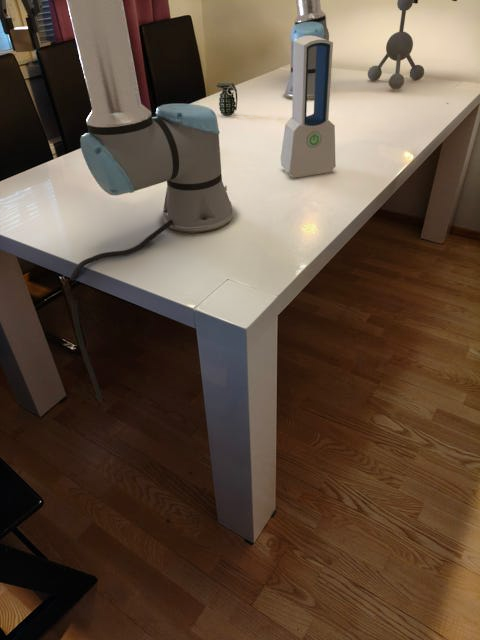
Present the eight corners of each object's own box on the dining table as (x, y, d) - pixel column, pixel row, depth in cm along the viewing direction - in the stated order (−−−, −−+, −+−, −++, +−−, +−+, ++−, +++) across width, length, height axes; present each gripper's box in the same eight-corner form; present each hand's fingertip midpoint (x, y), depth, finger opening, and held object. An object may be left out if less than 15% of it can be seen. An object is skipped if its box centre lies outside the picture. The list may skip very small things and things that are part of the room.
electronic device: (289, 178, 122) (291, 42, 103) (279, 168, 128) (280, 37, 109) (335, 171, 124) (345, 37, 106) (323, 161, 130) (331, 32, 111)
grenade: (217, 117, 168) (214, 86, 162) (221, 112, 172) (219, 82, 166) (235, 117, 166) (233, 86, 160) (239, 113, 171) (238, 82, 165)
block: (38, 48, 119) (33, 26, 116) (33, 51, 115) (27, 28, 113) (21, 49, 119) (15, 27, 116) (16, 52, 115) (9, 29, 113)
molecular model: (441, 85, 188) (459, -9, 169) (393, 93, 182) (406, -3, 164) (404, 74, 205) (416, -12, 187) (359, 81, 200) (367, -7, 181)
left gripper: (38, -78, 105) (66, 44, 120) (-42, -73, 105) (-3, 48, 120) (27, -79, 99) (58, 50, 114) (-57, -74, 100) (-15, 54, 114)
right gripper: (481, -79, 160) (466, -2, 173) (405, -74, 160) (396, 3, 173) (491, -80, 154) (474, 0, 167) (412, -75, 154) (402, 5, 167)
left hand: (27, 49), depth 117 cm, fingers closed on block, 4 cm apart
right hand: (434, 2), depth 170 cm, fingers open, 13 cm apart
